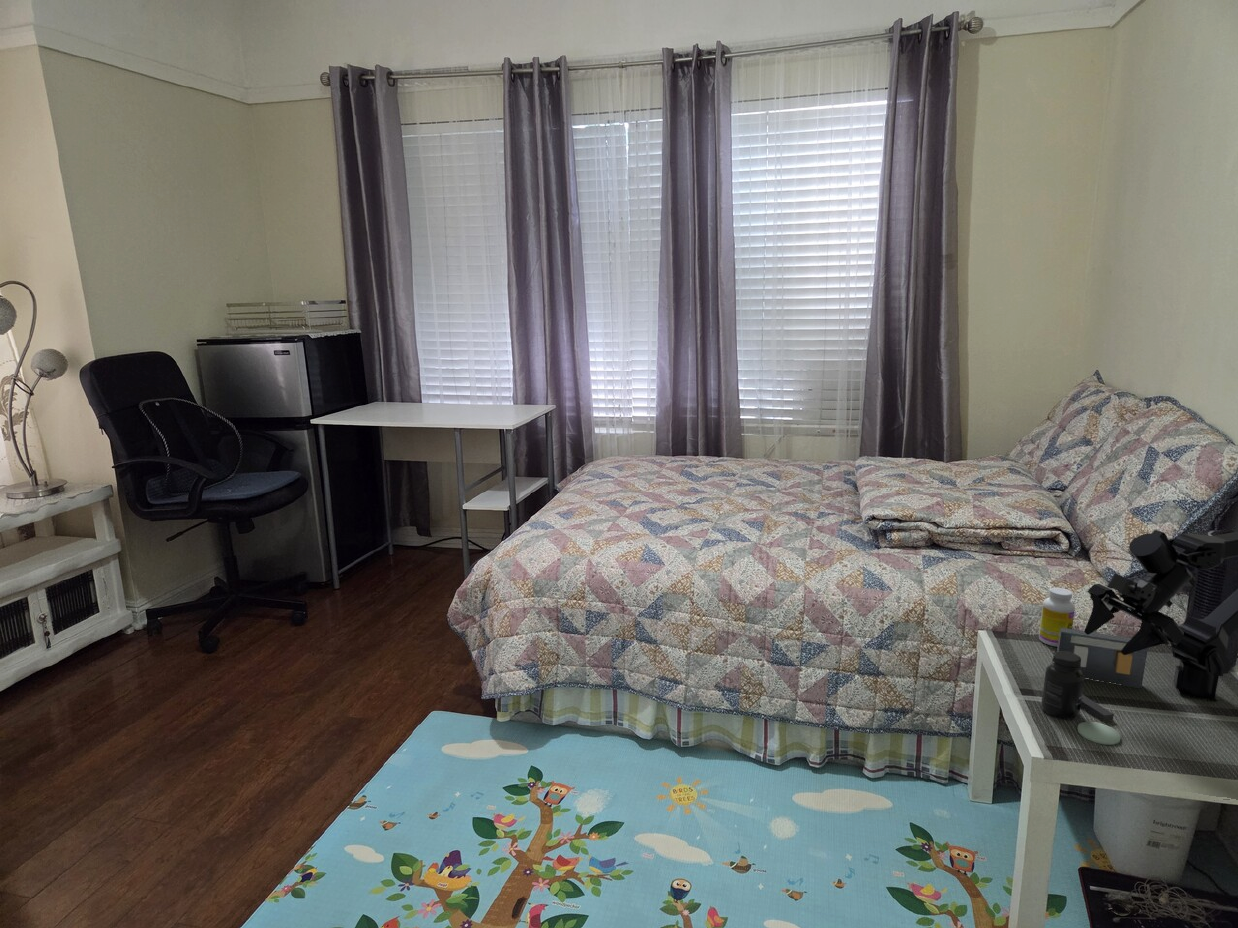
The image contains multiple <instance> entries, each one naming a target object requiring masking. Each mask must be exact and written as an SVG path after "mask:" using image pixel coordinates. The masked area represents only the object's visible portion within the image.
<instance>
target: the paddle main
mask: <svg viewBox="0 0 1238 928" xmlns="http://www.w3.org/2000/svg"><path fill="white" fill-rule="evenodd" d="M1131 663H1132V655H1131V654H1127V655H1123V654H1122V653H1120V652H1118V655H1117V662H1116V668H1115V670H1116V672H1117V673H1123V674H1129V675H1130V669H1131Z"/></svg>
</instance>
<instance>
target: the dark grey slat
mask: <svg viewBox="0 0 1238 928" xmlns="http://www.w3.org/2000/svg"><path fill="white" fill-rule="evenodd" d="M1082 708H1083V710H1084V709H1085V710H1086V711H1085V710H1084V711H1085V712H1087V713H1089V714H1090V715H1092V716H1093V717H1095V718H1096V719H1098V720H1099V721H1101V722H1103V723H1106V722H1114V715H1115V714H1114V713H1113V712H1111V711H1109V710H1108V709H1106V708H1105V707H1103V706H1102V705H1100V704H1099V703H1097V702H1095V701H1094V700H1092V699H1090V698H1089V697H1087V696H1085V695H1084V694H1082V701H1081V708H1080V709H1082Z"/></svg>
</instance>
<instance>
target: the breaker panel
mask: <svg viewBox="0 0 1238 928" xmlns="http://www.w3.org/2000/svg"><path fill="white" fill-rule="evenodd" d="M1131 638H1132V637H1129V636H1128V637H1126V636H1120V635H1119V636H1118V635H1113V634H1107V633H1100V632H1095V631H1094V632H1092V633H1091V634H1089V635H1087V634H1086V633H1085V632H1084V630H1080V629H1073V628H1072V629H1068V628H1061V627H1060V634H1059V641H1058V647H1057V650H1056V652H1057V651H1066V652H1071V653H1074V647H1075V645H1076V646H1082V647H1088V656H1087V663H1086V667H1081V668H1080V670H1081V671H1082V672H1083V674H1084V676H1085V678H1089V679H1093V680H1099V681H1104V682H1103V683H1105V682H1111V683H1116V684H1121V685H1120V686H1122V685H1124V686H1125V687H1130V688H1134V689H1142V687H1143V681H1144V673H1145V669H1146V662H1147V656H1148V650H1149V648H1146V649H1142V650H1139V651H1136V652H1133V653H1130V654H1131V655H1132V663H1131V669H1130V675H1129V674H1123V673H1117V672H1116V670H1115V668H1116V662H1117V655H1118V652H1120V653H1121V650H1122V649H1123V647H1124V646H1125V645H1126V644H1127V643H1128V642H1129V641H1130V640H1131ZM1093 680H1092V681H1093ZM1099 681H1098V682H1099ZM1111 683H1110V684H1111ZM1116 684H1115V685H1116ZM1124 686H1123V687H1124Z"/></svg>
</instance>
